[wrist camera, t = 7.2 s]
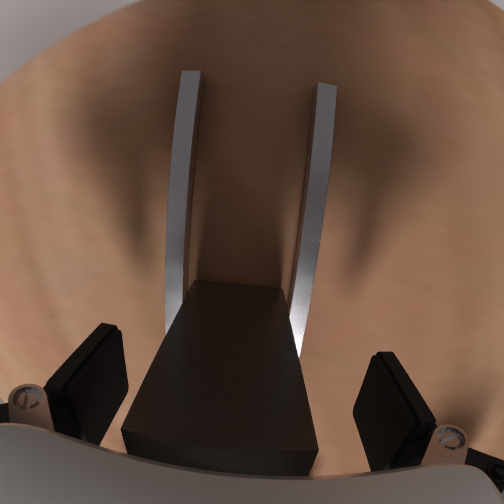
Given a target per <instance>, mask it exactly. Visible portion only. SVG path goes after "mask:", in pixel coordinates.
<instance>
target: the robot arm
mask: <svg viewBox="0 0 504 504" xmlns="http://www.w3.org/2000/svg"><path fill="white" fill-rule="evenodd" d="M46 383H47V384H46V385H45V386H44V387H43V388H42V387H40V386H38V385H35V384H23V385H20V386H18V387H16V388H14V389H13V390H12V391H11V393H10V394H9V398H8V403H5V404H0V504H504V461H503V460H501V459H498V458H496V457H493V456H490V455H487V454H485V453H482V452H479V451H477V450H474V449H472V448H469V438H468V435H467V434H466V432H465V431H464V430H462V429H461V428H460V427H458V426H455V425H451V424H444V425H440V426H438V427H437V425H436V423H435V422H436V419H435V417H434V415H433V414H432V412H431V411H430V409H429V407H428V406H427V404H426V402H425V401H424V399H423V398H422V396H421V394H420V393H419V391H418V390H417V388H416V387H415V385H414V383H413V382H412V380H411V379H410V377H409V376H408V374H407V373H406V371H405V369H404V368H403V366H402V365H401V363H400V362H399V360H398V359H397V357H396V356H395V354H394V353H393V352H377V354H376V355H373V356H372V358H371V360H370V363H369V366H368V369H367V372H366V375H365V378H364V381H363V384H362V386H361V389H360V392H359V394H358V397H357V400H356V402H355V405H354V408H353V417H354V420H355V423H356V426H357V429H358V432H359V435H360V438H361V441H362V444H363V447H364V450H365V453H366V456H367V460H368V463H369V466H370V469H371V472H365V473H355V474H343V475H327V476H264V475H248V474H236V473H226V472H217V471H209V470H202V469H195V468H189V467H183V466H178V465H172V464H167V463H162V462H158V461H153V460H149V459H145V458H140V457H136V456H133V455H129V454H125V453H122V452H118V451H114V450H111V449H107V448H104V447H101V446H99V445H100V443H101V441H102V439H103V437H104V435H105V434H106V432H107V430H108V428H109V426H110V424H111V422H112V420H113V419H114V417H115V415H116V413H117V411H118V409H119V408H120V406H121V404H122V402H123V400H124V398H125V397H126V395H127V393H128V387H129V386H128V379H127V372H126V365H125V357H124V349H123V340H122V332H121V331H120V330H118V328H117V326H116V325H111V324H106V323H101V324H100V325H99V326H98V327H97V328H96V329H95V330H94V331H93V332H92V333H91V334H90V335H89V336H88V338H87V339H86V340H85V341H84V342H83V343H82V344H81V345H80V346H79V347H78V348H77V349H76V350H75V351H74V352H73V354H72V355H71V356H70V357H69V358H68V359H67V360H66V361H65V362H64V363H63V364H62V366H61V367H60V368H59V369H58V370H57V371H56V372H55V373H54V374H53V376H52V377H51V378H50V379H49V380H48V381H47V382H46Z"/></svg>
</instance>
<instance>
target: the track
mask: <svg viewBox="0 0 504 504" xmlns="http://www.w3.org/2000/svg"><path fill="white" fill-rule="evenodd" d="M203 84H204V76H203V74H202V72H201V71H182V73H181V80H180V87H179V94H178V101H177V109H176V117H175V125H174V134H173V144H172V154H171V165H170V178H169V191H168V207H167V227H166V257H165V327H166V334H167V332H168V330H169V328H170V326H171V324H172V322H173V320H174V318H175V316H176V314H177V312H178V310H179V308H180V306H181V305H182V303H183V301H184V299H185V297H186V295H187V271H188V248H189V230H190V214H191V200H192V187H193V175H194V163H195V153H196V143H197V134H198V125H199V116H200V108H201V100H202V92H203ZM336 94H337V85H332V84H326V83H321V82H318V83H317V84H316V86H315V87H314V91H313V103H312V115H311V125H310V136H309V146H308V155H307V165H306V174H305V183H304V191H303V199H302V208H301V216H300V223H299V231H298V238H297V246H296V253H295V260H294V267H293V274H292V281H291V287H290V294H289V300H288V307H287V309H288V313H289V317H290V322H291V326H292V330H293V335H294V339H295V343H296V348H297V352H298V356H299V355H300V351H301V346H302V341H303V336H304V331H305V326H306V321H307V316H308V310H309V305H310V299H311V294H312V288H313V283H314V277H315V271H316V265H317V258H318V252H319V246H320V239H321V232H322V225H323V218H324V211H325V203H326V196H327V187H328V179H329V170H330V161H331V152H332V142H333V131H334V120H335V107H336Z"/></svg>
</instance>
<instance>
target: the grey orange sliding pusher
mask: <svg viewBox="0 0 504 504" xmlns="http://www.w3.org/2000/svg"><path fill="white" fill-rule="evenodd" d="M121 432H122V436H123V440H124V443H125V447H126V450H127V454H129V455H133V456H136V457H140V458H145V459H149V460H153V461H158V462H162V463H167V464H172V465H178V466H183V467H189V468H195V469H202V470H209V471H217V472H226V473H236V474H248V475H264V476H308V474H309V472H310V470H311V467H312V465H313V463H314V460H315V458H316V456H317V453H318V451H319V449H318V444H317V439H316V434H315V430H314V425H313V420H312V415H311V411H310V406H309V402H308V397H307V392H306V388H305V383H304V379H303V374H302V370H301V365H300V361H299V356H298V352H297V348H296V343H295V339H294V335H293V330H292V326H291V322H290V317H289V313H288V309H287V305H286V300H285V296H284V292H283V289H276V288H265V287H254V286H244V285H234V284H224V283H214V282H205V281H196V280H194V282H193V283H192V285H191V287H190V289H189V291H188V293H187V295H186V297H185V299H184V301H183V303H182V305H181V306H180V308H179V310H178V312H177V314H176V316H175V318H174V320H173V322H172V324H171V326H170V328H169V330H168V332H167V334H166V336H165V338H164V340H163V342H162V344H161V346H160V348H159V350H158V352H157V354H156V356H155V358H154V360H153V362H152V364H151V366H150V368H149V370H148V372H147V374H146V376H145V378H144V380H143V382H142V384H141V387H140V389H139V391H138V393H137V395H136V397H135V399H134V401H133V403H132V405H131V408H130V410H129V412H128V414H127V416H126V418H125V420H124V423H123V425H122V427H121Z"/></svg>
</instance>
